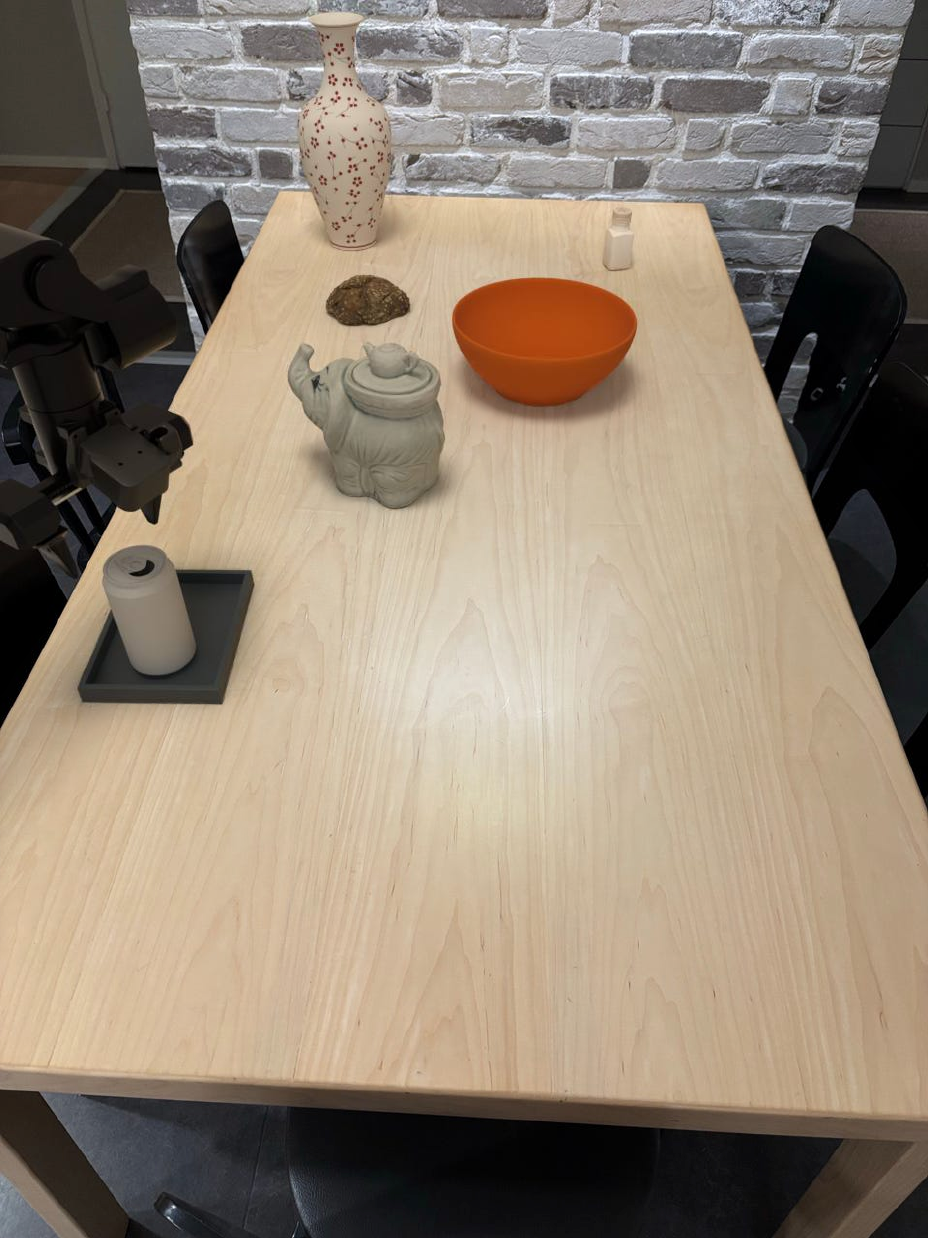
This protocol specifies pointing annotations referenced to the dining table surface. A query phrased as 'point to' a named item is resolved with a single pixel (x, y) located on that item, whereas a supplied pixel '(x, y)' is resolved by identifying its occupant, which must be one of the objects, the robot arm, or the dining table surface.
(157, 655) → the beverage can
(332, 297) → the bread roll
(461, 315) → the bowl
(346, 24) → the vase
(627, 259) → the pepper shaker
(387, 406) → the teapot
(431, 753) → the dining table surface
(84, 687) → the rectangular tray
